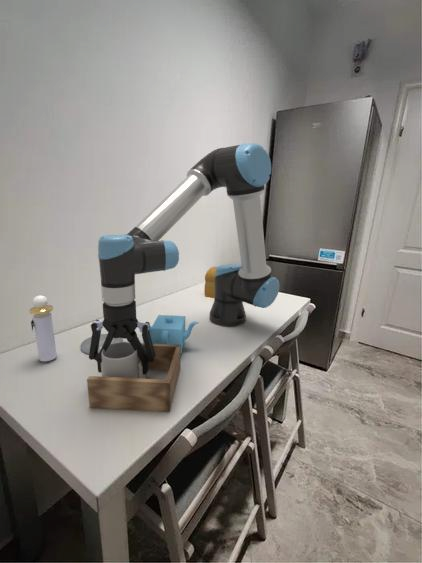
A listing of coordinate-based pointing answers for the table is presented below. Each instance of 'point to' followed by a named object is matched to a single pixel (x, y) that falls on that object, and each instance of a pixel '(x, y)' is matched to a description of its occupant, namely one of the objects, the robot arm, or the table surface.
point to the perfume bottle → (43, 328)
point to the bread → (210, 282)
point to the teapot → (170, 330)
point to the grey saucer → (86, 343)
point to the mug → (120, 361)
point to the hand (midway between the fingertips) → (124, 383)
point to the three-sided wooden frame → (139, 385)
